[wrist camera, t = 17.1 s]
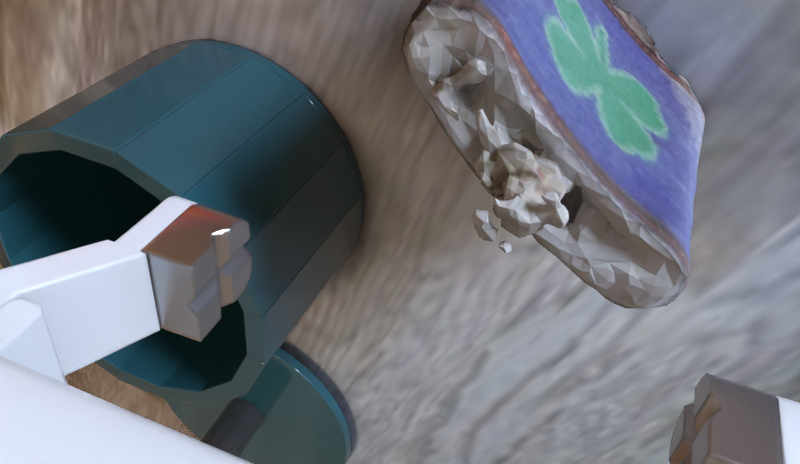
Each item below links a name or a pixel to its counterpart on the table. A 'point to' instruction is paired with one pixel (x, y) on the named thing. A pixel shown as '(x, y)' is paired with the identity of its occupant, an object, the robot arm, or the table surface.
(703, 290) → the table surface
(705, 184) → the table surface
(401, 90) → the table surface
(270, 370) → the pot lid
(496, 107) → the flask
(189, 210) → the robot arm
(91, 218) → the pot
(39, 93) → the table surface
